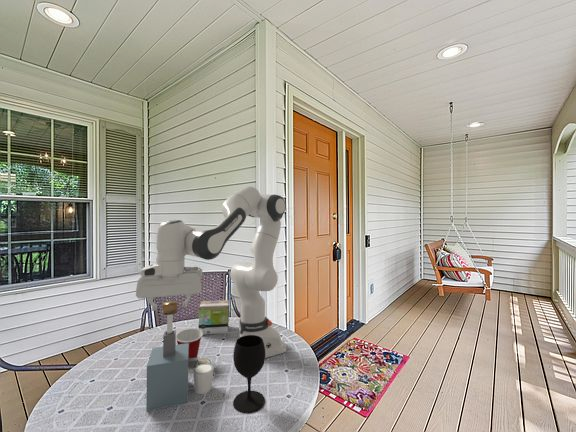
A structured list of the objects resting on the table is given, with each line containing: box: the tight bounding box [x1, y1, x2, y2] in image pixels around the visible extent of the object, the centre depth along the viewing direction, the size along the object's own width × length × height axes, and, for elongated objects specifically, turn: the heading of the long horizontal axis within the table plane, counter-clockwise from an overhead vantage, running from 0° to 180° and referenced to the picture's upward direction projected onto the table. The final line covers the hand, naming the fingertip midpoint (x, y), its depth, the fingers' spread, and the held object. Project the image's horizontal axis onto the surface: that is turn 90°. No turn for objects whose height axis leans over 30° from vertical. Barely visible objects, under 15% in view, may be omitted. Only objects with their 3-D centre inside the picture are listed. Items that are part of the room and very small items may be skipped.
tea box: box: [198, 299, 230, 335], centre depth 142 cm, size 15×10×15 cm, turn 102°
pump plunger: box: [161, 300, 179, 335], centre depth 90 cm, size 5×5×11 cm
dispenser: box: [145, 329, 199, 412], centre depth 91 cm, size 15×12×21 cm
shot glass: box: [193, 363, 214, 395], centre depth 94 cm, size 7×7×7 cm
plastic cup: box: [176, 327, 204, 358], centre depth 110 cm, size 11×11×12 cm
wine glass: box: [232, 335, 266, 414], centre depth 87 cm, size 10×10×20 cm
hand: (169, 308), depth 90 cm, fingers open, 8 cm apart
